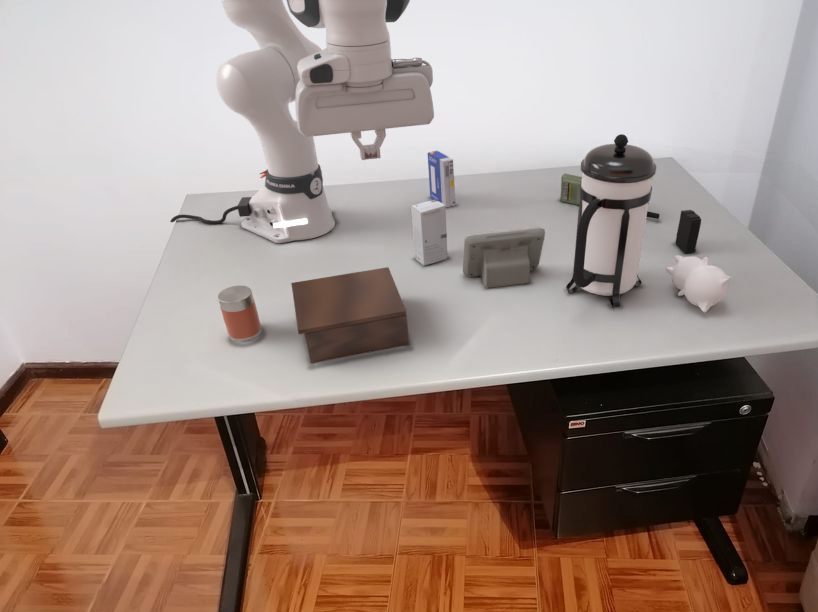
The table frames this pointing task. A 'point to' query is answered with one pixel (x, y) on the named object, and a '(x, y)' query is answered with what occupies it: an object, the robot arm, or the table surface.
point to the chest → (357, 338)
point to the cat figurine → (699, 281)
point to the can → (240, 313)
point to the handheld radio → (572, 188)
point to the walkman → (441, 178)
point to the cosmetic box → (429, 232)
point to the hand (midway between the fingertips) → (370, 158)
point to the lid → (346, 300)
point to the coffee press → (612, 218)
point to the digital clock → (503, 255)
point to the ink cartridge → (688, 231)
